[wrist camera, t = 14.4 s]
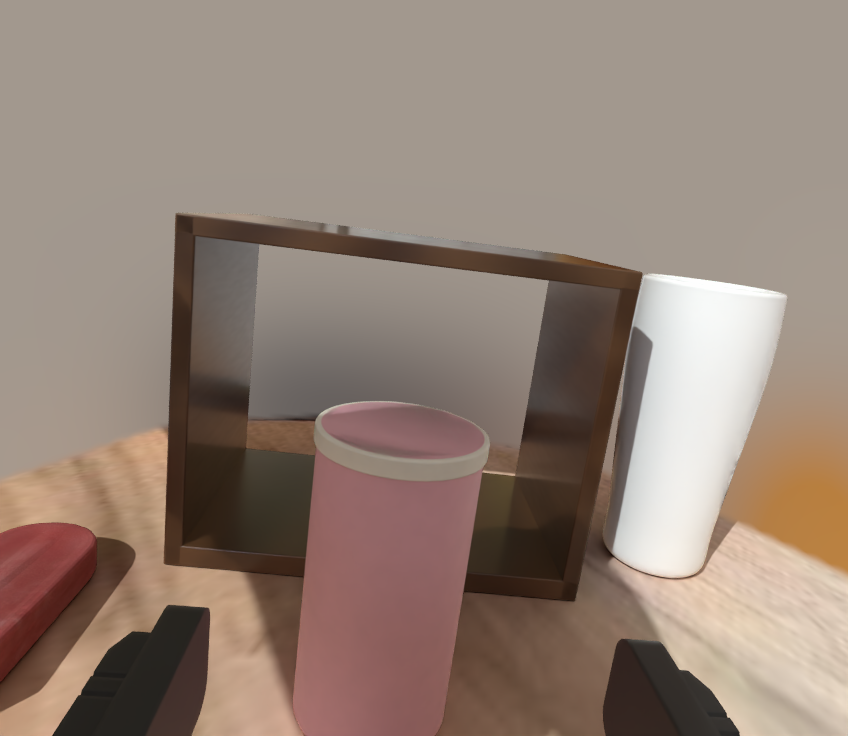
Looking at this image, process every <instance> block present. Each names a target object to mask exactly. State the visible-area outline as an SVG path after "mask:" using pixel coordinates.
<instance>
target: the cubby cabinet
mask: <svg viewBox="0 0 848 736" xmlns="http://www.w3.org/2000/svg"><path fill="white" fill-rule="evenodd" d="M259 244H263V245H272V246H279V247H287V248H295V249H304V250H311V251H319V252H327V253H335V254H343V255H350V256H359V257H367V258H375V259H382V260H391V261H399V262H407V263H415V264H422V265H430V266H438V267H446V268H454V269H462V270H470V271H478V272H487V273H494V274H502V275H510V276H518V277H526V278H535V279H542V280H549V283H548V289H547V295H546V301H545V307H544V312H543V319H542V324H541V330H540V336H539V342H538V347H537V353H536V359H535V365H534V370H533V376H532V382H531V388H530V394H529V399H528V405H527V411H526V417H525V423H524V428H523V435H522V441H521V446H520V451H519V457H518V463H517V469H516V475H515V476H508V475H499V474H489V473H482V477H481V483H480V490H479V496H478V502H477V509H476V515H475V521H474V527H473V534H472V540H471V546H470V553H469V559H468V565H467V571H466V578H465V584H464V590H463V591H471V592H482V593H494V594H505V595H516V596H527V597H538V598H549V599H560V600H571V601H575V598H576V594H577V589H578V584H579V579H580V574H581V569H582V565H583V560H584V555H585V550H586V545H587V540H588V536H589V531H590V526H591V521H592V516H593V511H594V506H595V502H596V497H597V492H598V487H599V482H600V477H601V473H602V468H603V463H604V458H605V453H606V448H607V443H608V439H609V434H610V429H611V424H612V419H613V414H614V409H615V404H616V400H617V395H618V390H619V385H620V381H621V375H622V370H623V365H624V361H625V356H626V351H627V347H628V342H629V337H630V332H631V327H632V322H633V318H634V313H635V308H636V303H637V298H638V293H639V289H640V284H641V279H642V272H638V271H634V270H630V269H625V268H621V267H617V266H613V265H608V264H604V263H600V262H595V261H591V260H587V259H582V258H578V257H574V256H569V255H565V254H557V253H549V252H542V251H534V250H526V249H518V248H510V247H502V246H494V245H487V244H479V243H471V242H463V241H456V240H448V239H440V238H433V237H425V236H417V235H409V234H401V233H394V232H386V231H378V230H370V229H363V228H354V227H347V226H340V225H332V224H324V223H316V222H309V221H300V220H293V219H285V218H277V217H270V216H262V215H254V214H231V213H228V214H226V213H176V218H175V252H174V253H175V254H174V282H173V310H172V340H171V370H170V400H169V428H168V457H167V486H166V515H165V545H164V564H170V565H181V566H192V567H203V568H214V569H225V570H237V571H248V572H259V573H270V574H281V575H292V576H304V572H305V562H306V551H307V540H308V529H309V518H310V507H311V497H312V486H313V475H314V464H315V456H314V455H304V454H295V453H285V452H275V451H266V450H256V449H246V438H247V423H248V406H249V392H250V376H251V361H252V359H251V358H252V346H253V329H254V314H255V299H256V298H255V297H256V284H257V268H258V253H259Z"/></svg>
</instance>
